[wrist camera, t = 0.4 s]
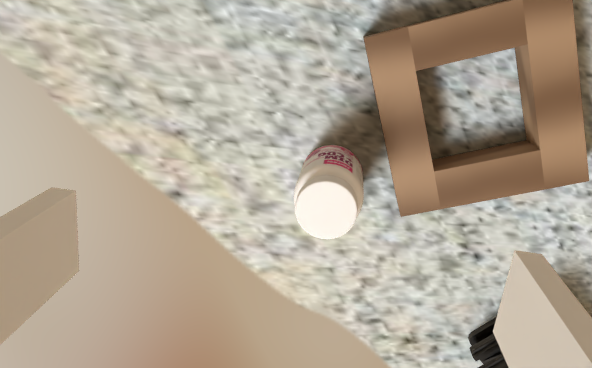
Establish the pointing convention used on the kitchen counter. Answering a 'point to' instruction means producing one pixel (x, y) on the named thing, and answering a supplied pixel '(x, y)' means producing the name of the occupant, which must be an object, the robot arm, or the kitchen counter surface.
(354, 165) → the pill bottle
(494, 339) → the end cap
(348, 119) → the kitchen counter surface
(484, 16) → the socket block
